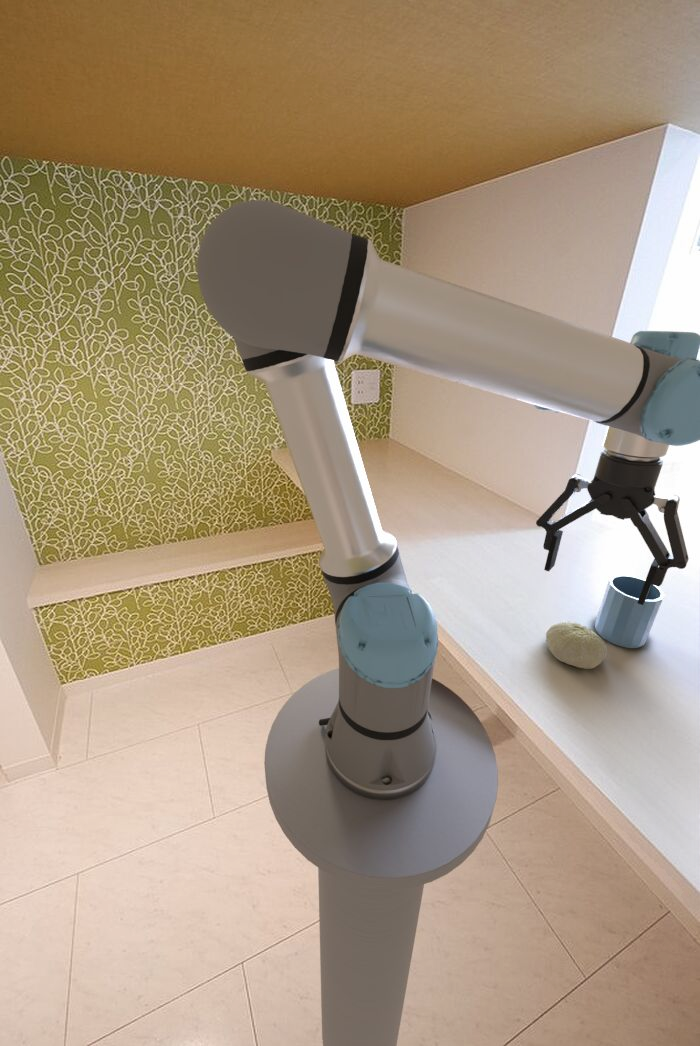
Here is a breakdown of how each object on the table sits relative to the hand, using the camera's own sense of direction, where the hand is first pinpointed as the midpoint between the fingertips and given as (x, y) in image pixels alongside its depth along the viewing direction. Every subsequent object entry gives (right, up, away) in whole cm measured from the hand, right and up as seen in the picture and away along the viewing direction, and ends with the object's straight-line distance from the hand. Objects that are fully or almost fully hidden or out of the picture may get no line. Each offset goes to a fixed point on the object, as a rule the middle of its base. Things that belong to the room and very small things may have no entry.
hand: (592, 583), depth 69 cm
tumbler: (+11, -11, +11) cm, 19 cm away
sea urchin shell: (0, -13, +6) cm, 14 cm away
